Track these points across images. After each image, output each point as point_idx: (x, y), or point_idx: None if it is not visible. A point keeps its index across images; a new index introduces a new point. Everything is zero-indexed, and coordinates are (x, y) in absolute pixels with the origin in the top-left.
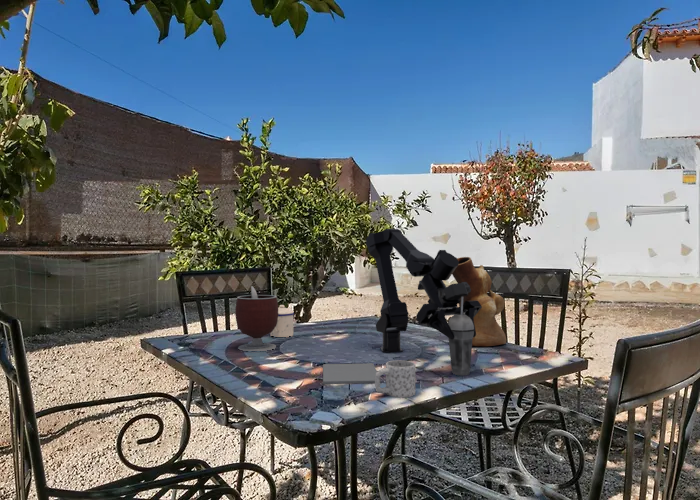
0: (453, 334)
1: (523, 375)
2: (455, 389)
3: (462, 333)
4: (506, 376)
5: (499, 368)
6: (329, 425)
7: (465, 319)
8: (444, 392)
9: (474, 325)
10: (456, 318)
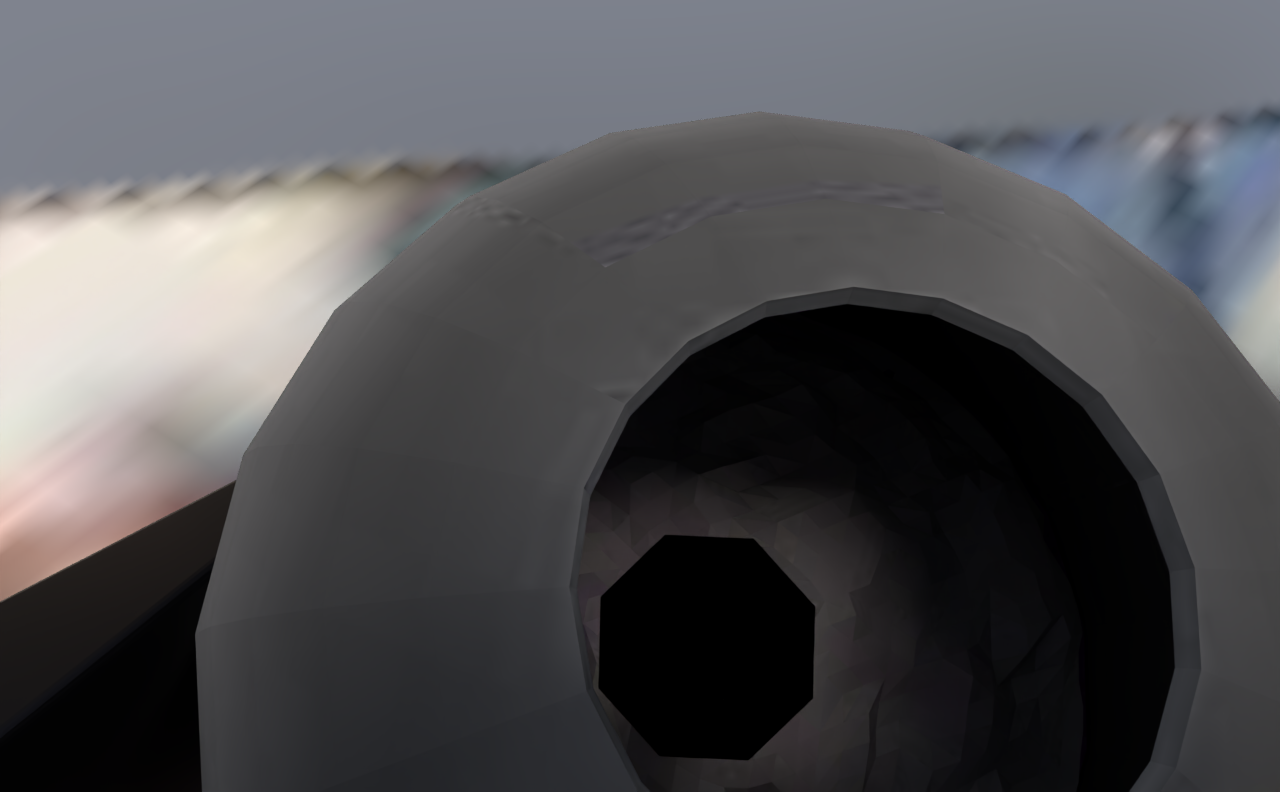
0: (1074, 530)
1: (102, 215)
2: (1122, 206)
3: (926, 314)
4: (296, 279)
5: (7, 591)
6: None
7: (883, 136)
8: (1272, 189)
9: (68, 568)
10: (1277, 405)
